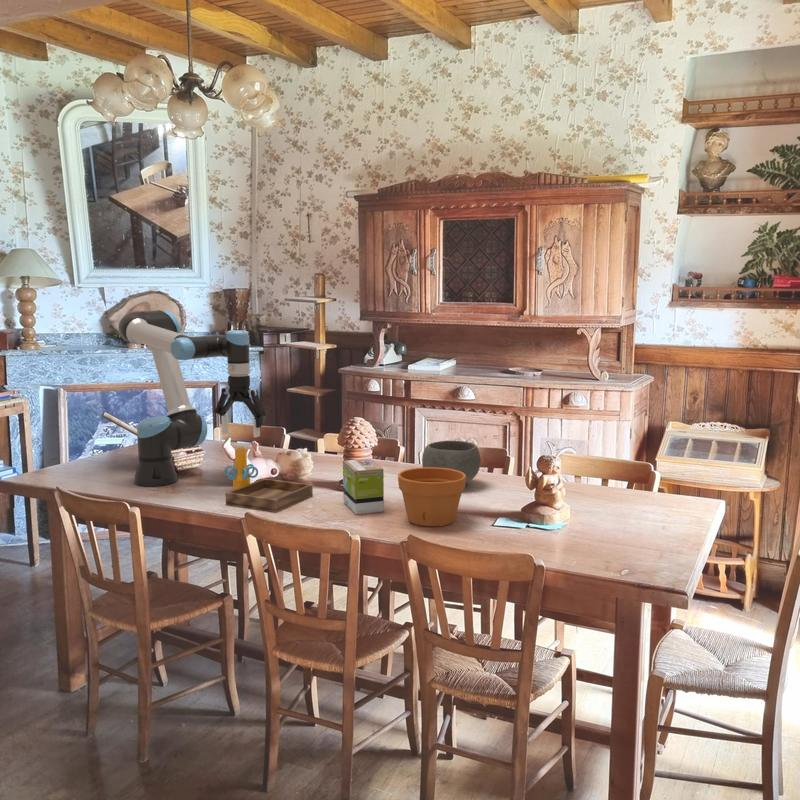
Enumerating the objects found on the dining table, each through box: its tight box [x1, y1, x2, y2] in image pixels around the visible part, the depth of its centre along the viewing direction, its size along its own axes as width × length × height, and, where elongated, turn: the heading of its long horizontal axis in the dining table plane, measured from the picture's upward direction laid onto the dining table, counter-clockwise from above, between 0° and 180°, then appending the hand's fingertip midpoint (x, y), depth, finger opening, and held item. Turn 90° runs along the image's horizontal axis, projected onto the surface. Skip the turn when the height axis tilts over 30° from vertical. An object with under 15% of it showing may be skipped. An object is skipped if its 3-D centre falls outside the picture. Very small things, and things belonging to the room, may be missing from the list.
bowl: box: [421, 440, 482, 485], centre depth 302 cm, size 21×21×15 cm
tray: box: [225, 477, 314, 513], centre depth 283 cm, size 20×22×4 cm
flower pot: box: [397, 467, 466, 528], centre depth 260 cm, size 21×21×15 cm
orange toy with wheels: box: [224, 446, 259, 490], centre depth 296 cm, size 12×10×15 cm
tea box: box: [342, 458, 385, 515], centre depth 274 cm, size 15×10×15 cm, turn 19°
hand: (240, 435), depth 294 cm, fingers open, 13 cm apart
